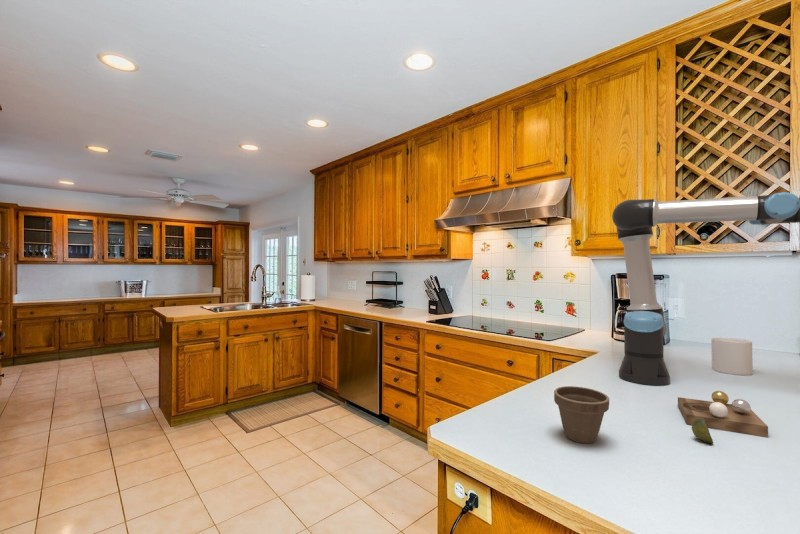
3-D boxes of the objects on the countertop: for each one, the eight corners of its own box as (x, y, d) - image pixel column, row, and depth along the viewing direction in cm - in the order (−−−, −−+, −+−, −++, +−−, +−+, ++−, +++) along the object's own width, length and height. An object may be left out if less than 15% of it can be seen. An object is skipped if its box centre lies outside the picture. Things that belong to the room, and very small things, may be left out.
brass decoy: (713, 405, 101) (713, 391, 101) (710, 401, 104) (710, 388, 104) (730, 407, 99) (730, 394, 99) (726, 403, 102) (726, 390, 102)
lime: (705, 436, 88) (704, 414, 88) (723, 446, 83) (723, 422, 83) (685, 436, 88) (685, 414, 88) (703, 446, 83) (702, 423, 83)
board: (686, 424, 94) (686, 414, 94) (677, 406, 107) (677, 397, 108) (768, 437, 87) (768, 426, 87) (747, 415, 100) (747, 406, 100)
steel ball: (734, 414, 94) (733, 400, 94) (730, 409, 98) (730, 396, 98) (752, 417, 93) (752, 402, 93) (748, 412, 96) (748, 398, 96)
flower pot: (618, 451, 80) (617, 403, 80) (560, 447, 82) (560, 400, 82) (599, 429, 91) (599, 387, 91) (549, 426, 93) (549, 384, 93)
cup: (746, 377, 137) (745, 343, 137) (706, 370, 147) (706, 339, 147) (757, 372, 144) (756, 340, 144) (718, 366, 153) (718, 336, 154)
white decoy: (711, 418, 92) (710, 403, 92) (707, 413, 95) (707, 399, 95) (729, 420, 90) (729, 405, 90) (725, 415, 93) (725, 401, 93)
